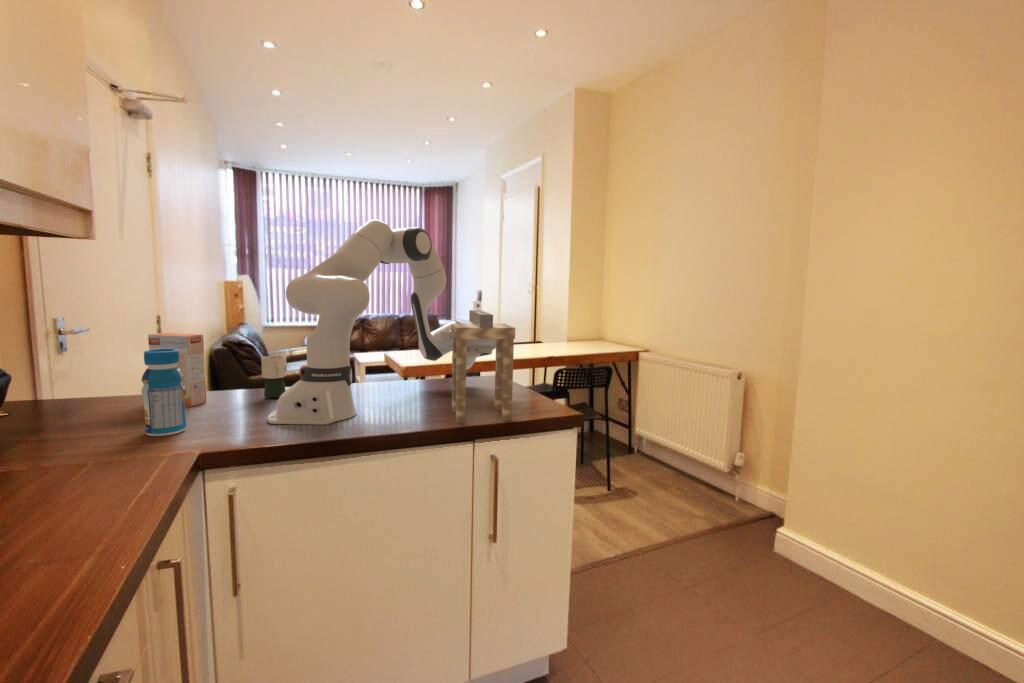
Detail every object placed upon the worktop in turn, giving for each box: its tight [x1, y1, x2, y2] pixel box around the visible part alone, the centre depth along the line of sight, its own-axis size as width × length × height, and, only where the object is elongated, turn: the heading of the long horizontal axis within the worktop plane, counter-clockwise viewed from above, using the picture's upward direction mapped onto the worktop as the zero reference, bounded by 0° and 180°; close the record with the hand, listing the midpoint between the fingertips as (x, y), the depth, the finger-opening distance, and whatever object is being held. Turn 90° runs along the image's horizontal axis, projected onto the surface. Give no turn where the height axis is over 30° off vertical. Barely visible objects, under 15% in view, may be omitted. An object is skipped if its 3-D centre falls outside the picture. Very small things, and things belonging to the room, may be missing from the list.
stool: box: [451, 322, 516, 424], centre depth 135 cm, size 16×14×26 cm
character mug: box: [260, 355, 288, 399], centre depth 151 cm, size 11×7×13 cm, turn 44°
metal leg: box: [468, 309, 494, 328], centre depth 138 cm, size 4×22×4 cm, turn 13°
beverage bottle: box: [141, 349, 187, 437], centre depth 114 cm, size 8×8×20 cm
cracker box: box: [147, 332, 207, 408], centre depth 140 cm, size 14×6×21 cm, turn 77°
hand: (472, 329), depth 153 cm, fingers open, 8 cm apart
